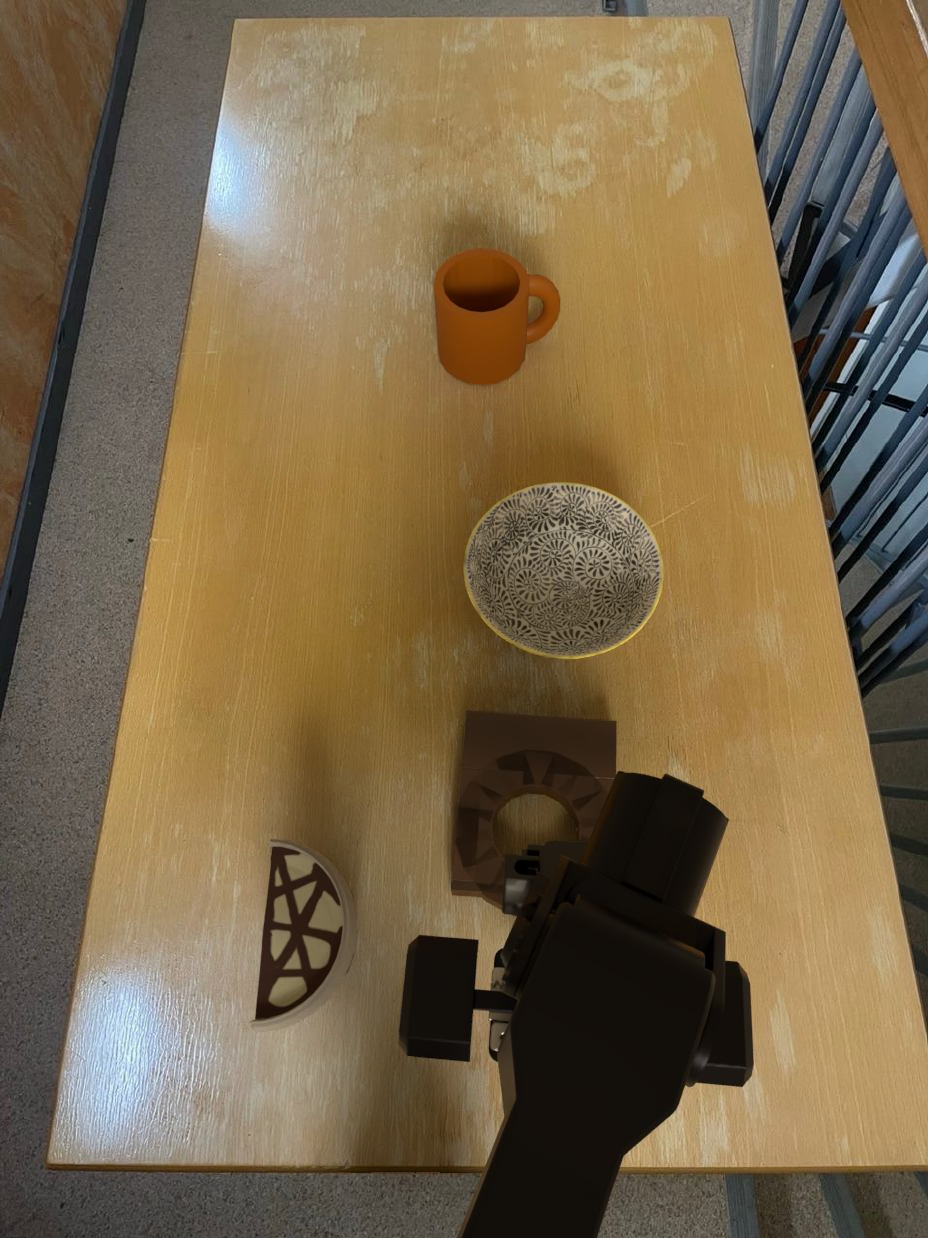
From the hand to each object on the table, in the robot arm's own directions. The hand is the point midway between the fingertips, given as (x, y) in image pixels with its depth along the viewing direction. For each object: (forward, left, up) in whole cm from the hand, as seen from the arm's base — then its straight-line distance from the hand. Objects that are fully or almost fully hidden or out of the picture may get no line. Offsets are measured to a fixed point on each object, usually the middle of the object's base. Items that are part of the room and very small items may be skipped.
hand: (562, 1013), depth 58 cm
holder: (+15, +2, -9) cm, 18 cm away
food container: (+4, +17, -9) cm, 20 cm away
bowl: (+33, +1, -9) cm, 34 cm away
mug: (+61, +8, -9) cm, 62 cm away
